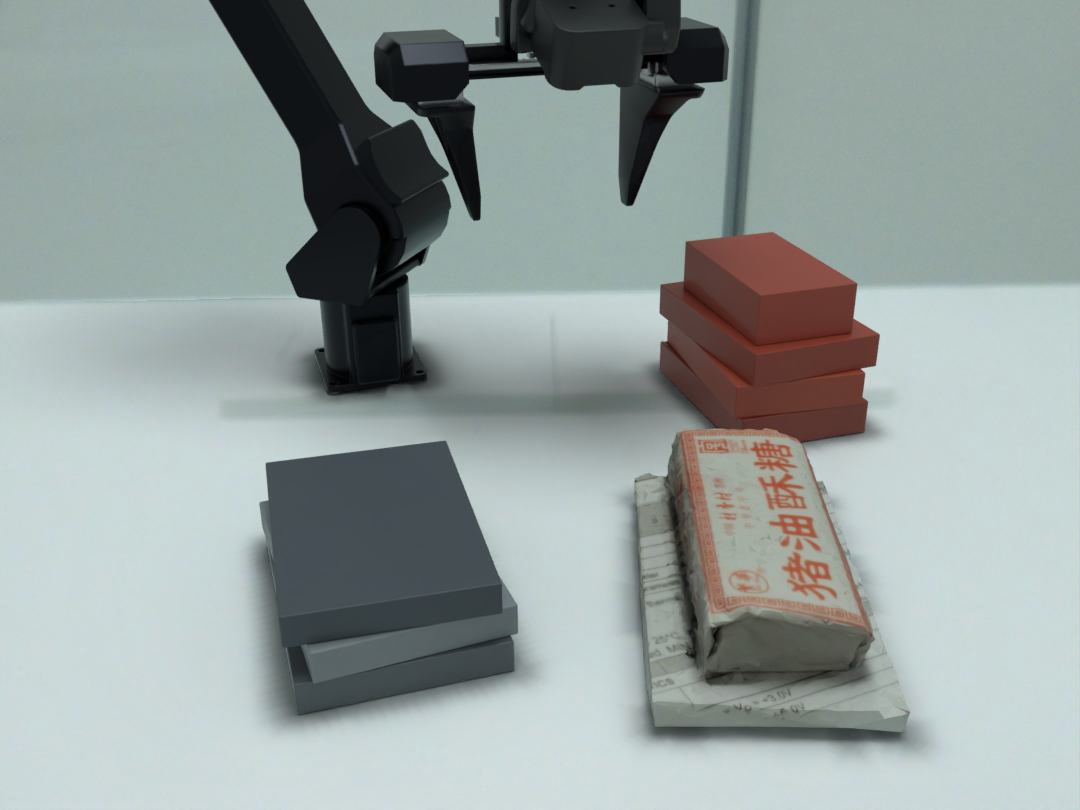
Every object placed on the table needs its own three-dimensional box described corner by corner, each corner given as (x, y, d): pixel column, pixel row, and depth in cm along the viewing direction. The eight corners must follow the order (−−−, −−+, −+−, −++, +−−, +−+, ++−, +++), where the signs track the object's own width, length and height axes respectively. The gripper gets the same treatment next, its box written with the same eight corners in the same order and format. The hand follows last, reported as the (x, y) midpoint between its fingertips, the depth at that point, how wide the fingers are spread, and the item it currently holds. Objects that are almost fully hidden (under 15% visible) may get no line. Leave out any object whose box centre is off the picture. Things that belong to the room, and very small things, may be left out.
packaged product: (633, 416, 59) (831, 418, 58) (631, 498, 61) (821, 500, 60) (652, 633, 42) (926, 638, 42) (648, 735, 45) (908, 740, 44)
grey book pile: (261, 543, 57) (251, 464, 55) (449, 512, 60) (445, 435, 58) (291, 719, 46) (280, 626, 44) (523, 671, 48) (521, 582, 46)
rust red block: (682, 287, 72) (685, 241, 71) (769, 276, 74) (772, 231, 73) (756, 346, 64) (760, 295, 62) (852, 333, 65) (858, 283, 64)
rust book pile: (651, 368, 76) (654, 282, 73) (772, 351, 78) (779, 267, 75) (736, 455, 65) (743, 357, 62) (873, 432, 67) (886, 337, 65)
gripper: (405, -66, 50) (423, 273, 57) (789, -77, 55) (763, 237, 62) (362, -81, 60) (382, 212, 67) (693, -89, 65) (679, 184, 72)
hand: (552, 211), depth 67 cm, fingers open, 9 cm apart
